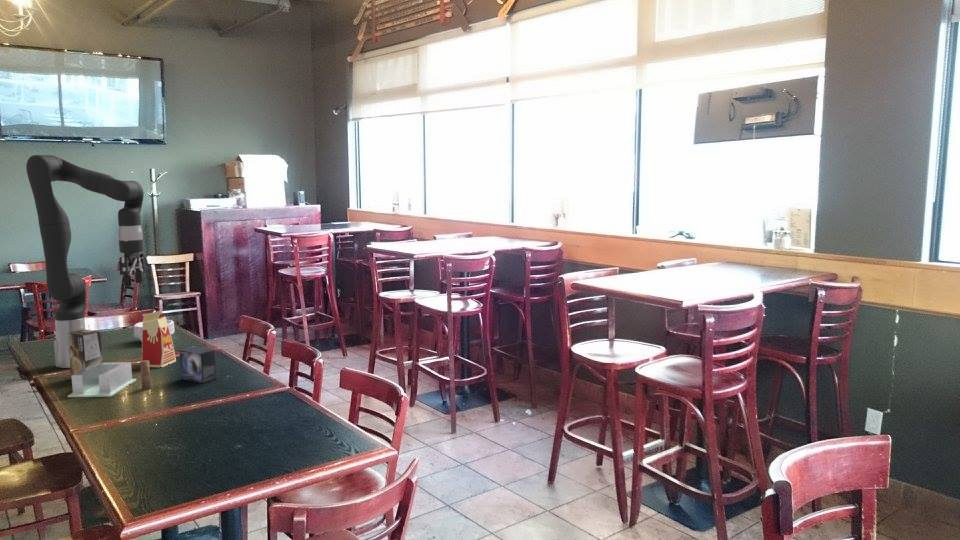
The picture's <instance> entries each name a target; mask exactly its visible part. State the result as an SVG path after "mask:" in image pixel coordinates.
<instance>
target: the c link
mask: <svg viewBox="0 0 960 540" xmlns="http://www.w3.org/2000/svg"><path fill="white" fill-rule="evenodd" d="M132 372H133V371H132V362H131V361H130V362H129V361H127V362H124V361H122V362H103V363H94V364H93V365H91V366H89V367H87V368H85V369H83V370H81V371H79V372H77V373H75V374H73V375H72V379H71V385H72V393H73V394H84V393H86V390H88V389H90V388H91V387H93V386H95V385H97V384H98V383H99V388H100V394H111V393H112V392H114V391H115V390H117V389H119V388H120V387H122V386H123V385H125V384H126V383H128V382H130V381H131V380H132V379H133V373H132Z"/></svg>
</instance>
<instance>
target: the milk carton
mask: <svg viewBox="0 0 960 540" xmlns="http://www.w3.org/2000/svg"><path fill="white" fill-rule="evenodd" d="M162 311H163V310H162V309H160V310H158V311H155V312H149V313H143V314H141V316H143V317H142V319H143V320H142V322H143V329H142V342H141V361H144V360H148V361H149V366H150V368H160V367H162V368H164V367H166V366H169V365H170V364H174V363H176V362H177V359H176V352H175V347H174V343H173V338H172V334H170V330H169V327H168V324H167V320H168V319H167V317H166V316H165V314H163V313H162ZM168 364H169V365H168Z"/></svg>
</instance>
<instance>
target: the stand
mask: <svg viewBox="0 0 960 540" xmlns="http://www.w3.org/2000/svg"><path fill="white" fill-rule="evenodd" d="M139 364H140V365H139V366H140V367H139V368H140V381H141V390H142V391H146V390H151V389H152V385H151V372H150V371H151V370H150V368H151V367H150V366H149V361H148V360H144V361H142V360H140V362H139Z"/></svg>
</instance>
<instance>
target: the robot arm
mask: <svg viewBox="0 0 960 540" xmlns="http://www.w3.org/2000/svg"><path fill="white" fill-rule="evenodd" d="M25 166H26V174H27V178H28V182H29V184H30V188H31V191H32V195H33V199H34V205H35V209H36V214H37V219H38V220H37V221H38V227H39V232H40V237H41V241H42V243H41V244H42V248H43V254H44V255H43V256H44V260H45V262H44V263H45V273H46V288H47V292H48V294H49V296H50V298H51V299H53V300H54V301H57V302H59V306H58V308H57V309H56V310H55V311H54V313H53V314H54V327H55V338H56V339H54V341H53V348H54V349H53V350H54V359H55V360H54V361H55V367H56V368H62V369H68V368H69V369H70V357H69V346H68V334H67V333H69V332H73V331H78V330H84V329H85V330H86V321H85V312H86V308H87V289H86V288H87V287H86V284H85V283H86V282H85V281H84V279H83V277H82V275H80V274H77V273H74V272H69V269H68V254H69V250H70V246H71V241H72V230H71V226H70V220H69V216H68V215H67V213H66V211H65V210H64V208H63V207H62V205H61V204H60V203H59V202H58V200H57V198H56V196H55V194H54V190H53V186H52V182H56V181H57V182H68V183H73V184H76V185H77V186H79V187H81V188H83V189H84V190H87V191H89V192H93V193H96V194H100V195H104V196H106V197H108V198H110V199H112V200H115V201H118V202H124V205H123V207H122V208H120V209H119V210H118V211H117V222H118V228H117V230H118V231H117V233H118V234H117V236H118V248H119V253H120V254H123V256H122V257H121V256H119V259H118V262H119V264H118V265H119V275H120V276H121V275H122V276H123V283H124V284H123V285H124V287H126V288H130V287H132V286H133V282H132V272H133V271H134V272H135V273H134V277H135V283H136V284H142V283H143V272H144V270H146V264H145V254H144V239H143V238H144V237H143V229H142V228H143V227H142V220H141V218H142V217H141V211H142V209H143V203H144V196H145V195H144V193H145V192H144V189H143V186H142V185H141V184H140V183H139V182H138V181H136V180H121V179H116V178H115V177H113V176H112V175H110V174H106V173H102V172H99V171H96V170H91V169H87V168H84V167H81V166H78V165H76V164H74V163H71V162H69V161H67V160H65V159H63V158H61V157H59V156H56V155H51V154H34V155H31V156H30V157H28V159H27V161H26V165H25Z"/></svg>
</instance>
